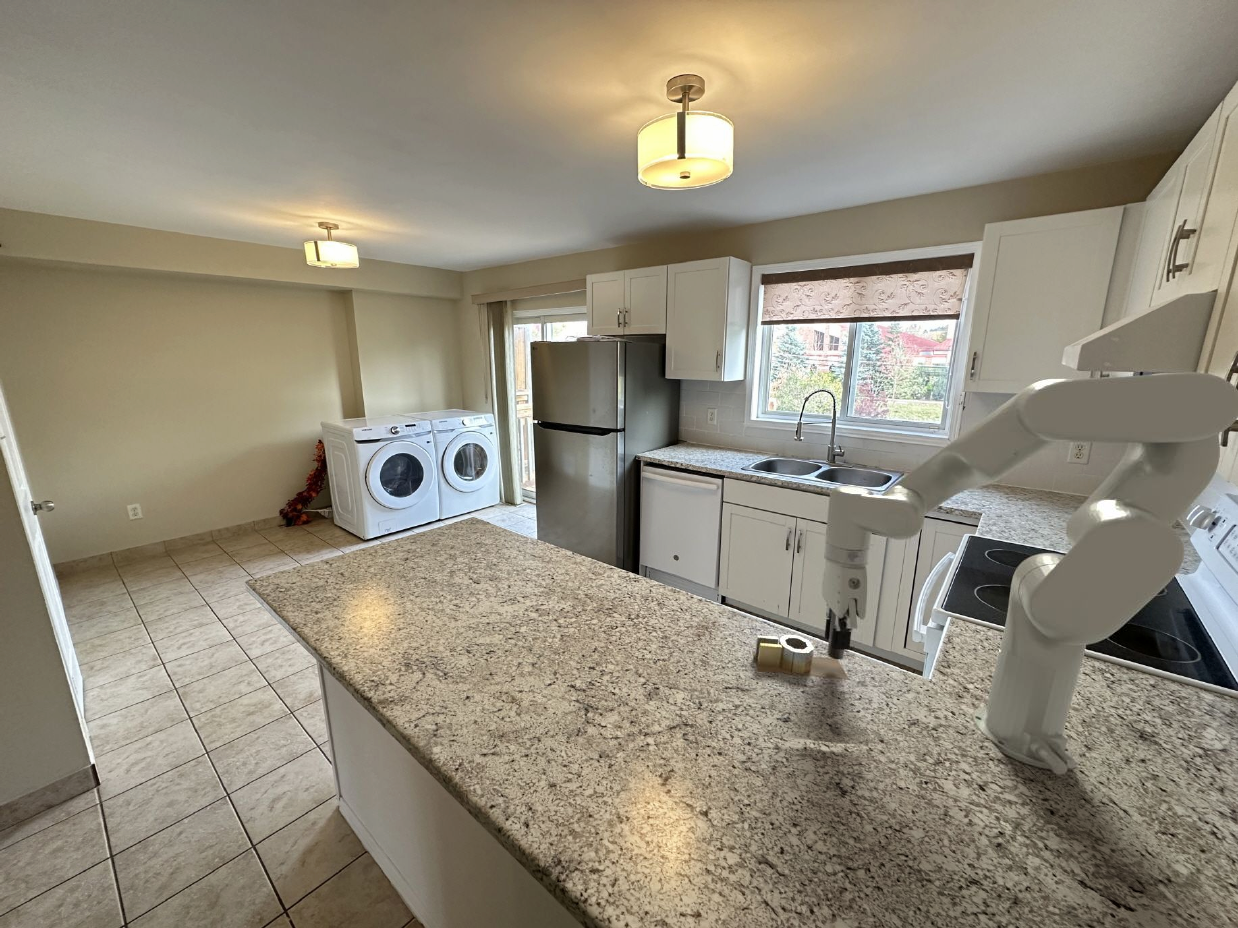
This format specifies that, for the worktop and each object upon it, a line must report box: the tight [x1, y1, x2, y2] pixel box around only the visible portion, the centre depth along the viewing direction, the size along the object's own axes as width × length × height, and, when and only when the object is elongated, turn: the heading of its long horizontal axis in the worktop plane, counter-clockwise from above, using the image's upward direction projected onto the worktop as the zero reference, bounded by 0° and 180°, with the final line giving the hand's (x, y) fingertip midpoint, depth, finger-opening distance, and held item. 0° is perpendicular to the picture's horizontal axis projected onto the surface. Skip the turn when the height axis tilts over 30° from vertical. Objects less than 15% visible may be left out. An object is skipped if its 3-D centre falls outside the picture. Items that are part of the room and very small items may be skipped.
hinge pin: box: [826, 611, 847, 660], centre depth 92 cm, size 3×3×9 cm
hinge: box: [754, 634, 815, 674], centre depth 94 cm, size 6×10×4 cm, turn 85°
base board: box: [751, 650, 850, 680], centre depth 94 cm, size 7×17×1 cm, turn 85°
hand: (836, 642), depth 92 cm, fingers closed on hinge pin, 2 cm apart
